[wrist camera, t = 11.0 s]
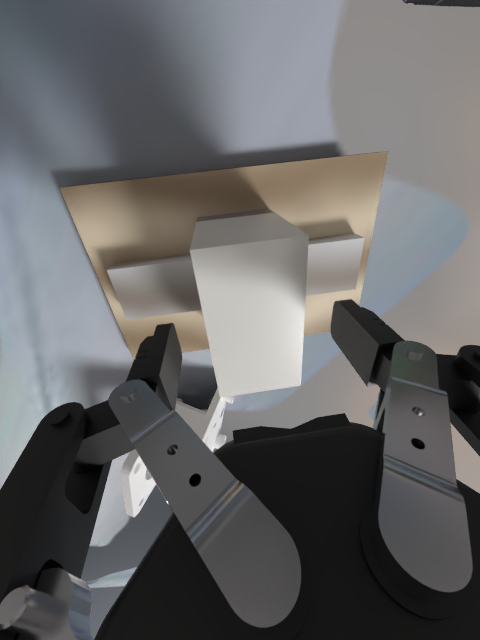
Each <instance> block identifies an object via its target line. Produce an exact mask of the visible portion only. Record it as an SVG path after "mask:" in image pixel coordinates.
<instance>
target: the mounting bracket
mask: <svg viewBox="0 0 480 640" xmlns="http://www.w3.org/2000/svg"><path fill="white" fill-rule="evenodd" d="M235 396H236V395H235ZM235 396H228V397H221V398H220V396H219V391H218V388H217V390H216V392H215V395H214V397H213V399H212V401H211V404H210V406H209V408H208V410H207V412H205V411H202V410H200V409H197V408H195V407H192V406H190V405H187V404H185V403H183V400H182V399H179V398H177V400H176V407H175V411H176V412H177V413H178V414H179V415H180V416H181V417H182V418H183V420H184V421H185V422H186V423H187V424H188V425H189V426H190V427H191V429H192V430H193V431H194V432H195V433H196V434H197V435H198V436H199V438H200V439H201V440H202V441H203V442H204V443H205V444H206V446H207V447H208V448H209V449H210V450H211V451H212V452H213V450H214V448H217V449H219V448H220V447H221V446H223V445H224V444H225V441H226V438H227V436H225V435H223V434H220V429H221V424H222V419H223V414H224V409H225V404H226V402H229V403H231V404H232V403H233V401H234V399H235ZM146 470H147V468H146V466H145V465H144V463H143V461H142V460H141V458H140V456H139V455H138V453H137V451H136V450H135V449H134V450H132V451H131V452H130V453H129V455H128V457H127V458H126V460H125V462H124V464H123V467H122V469H121V472H120V475H121V482H122V488H123V495H124V501H125V508H126V514H128V515H130V516H132V517H135V516H136V515H137V514H138V513H139V511H140V510H141V508H142V506H143V505H144V503H145V501H146V499H147V498H148V496H149V494H150V493H151V491H152V489H153V488H154V486H155V484H156V483H155V481H154V480H153V478H152V476H151V475H150V473H149V471H148V472H147V473H146Z"/></svg>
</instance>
